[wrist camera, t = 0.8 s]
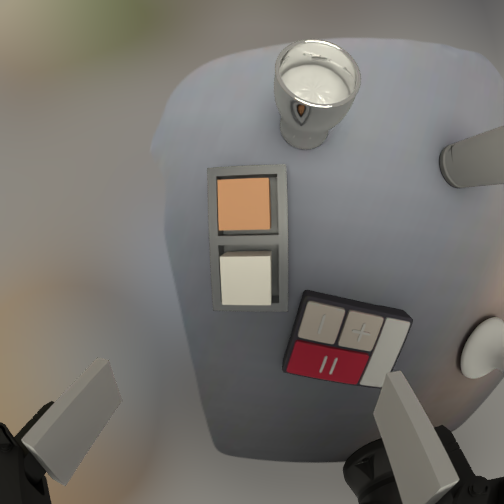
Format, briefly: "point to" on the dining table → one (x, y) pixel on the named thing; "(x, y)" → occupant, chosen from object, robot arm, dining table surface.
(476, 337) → the flower in vase
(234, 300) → the cream key
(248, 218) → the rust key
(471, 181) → the travel mug
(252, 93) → the dining table surface
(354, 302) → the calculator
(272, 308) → the key housing
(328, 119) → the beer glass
